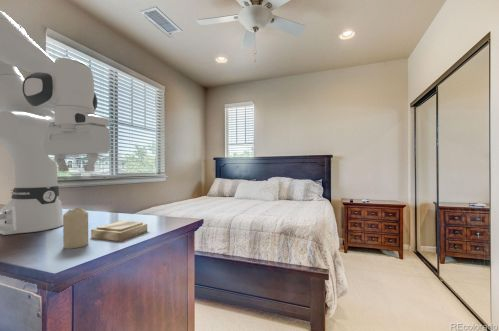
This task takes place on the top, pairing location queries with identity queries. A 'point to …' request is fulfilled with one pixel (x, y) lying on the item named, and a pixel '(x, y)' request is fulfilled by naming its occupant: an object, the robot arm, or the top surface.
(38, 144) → the robot arm
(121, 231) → the stand
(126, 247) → the top surface
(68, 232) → the candle
